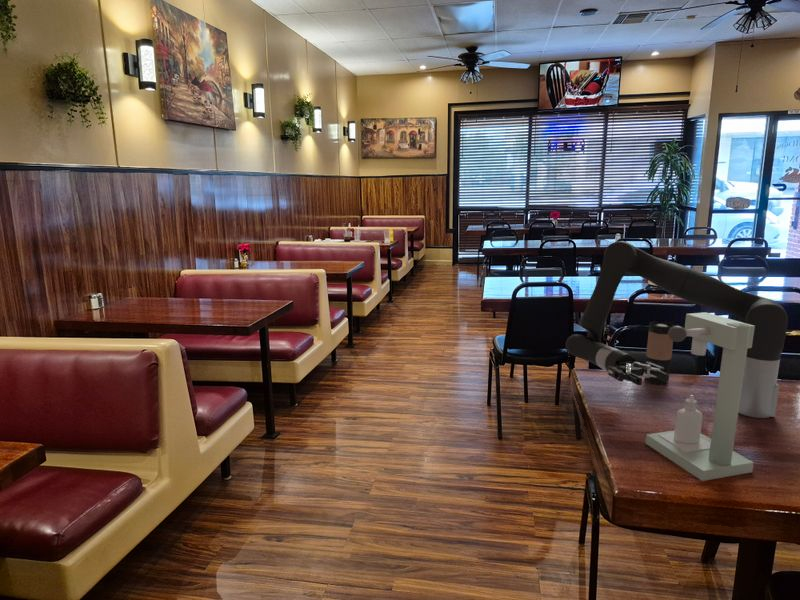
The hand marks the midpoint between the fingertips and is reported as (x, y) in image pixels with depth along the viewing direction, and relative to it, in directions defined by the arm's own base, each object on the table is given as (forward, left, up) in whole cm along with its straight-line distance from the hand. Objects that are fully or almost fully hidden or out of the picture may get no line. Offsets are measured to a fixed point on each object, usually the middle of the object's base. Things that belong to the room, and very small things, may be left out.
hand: (654, 380), depth 136 cm
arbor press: (-4, +16, -14) cm, 21 cm away
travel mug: (-12, -38, -14) cm, 43 cm away
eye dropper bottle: (-5, +12, -11) cm, 17 cm away
